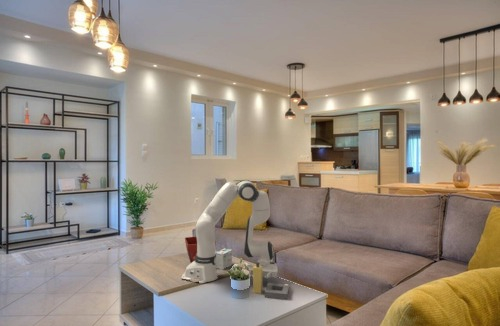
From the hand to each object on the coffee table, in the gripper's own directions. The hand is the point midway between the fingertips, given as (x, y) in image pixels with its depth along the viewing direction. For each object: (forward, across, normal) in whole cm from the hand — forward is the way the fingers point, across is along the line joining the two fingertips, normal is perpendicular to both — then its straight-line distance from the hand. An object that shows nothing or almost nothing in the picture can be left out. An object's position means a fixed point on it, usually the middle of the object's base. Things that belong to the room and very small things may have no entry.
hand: (258, 276), depth 178 cm
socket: (+1, +11, +8) cm, 14 cm away
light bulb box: (-31, -30, +8) cm, 44 cm away
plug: (+1, 0, +8) cm, 8 cm away
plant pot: (-33, -48, +8) cm, 59 cm away
